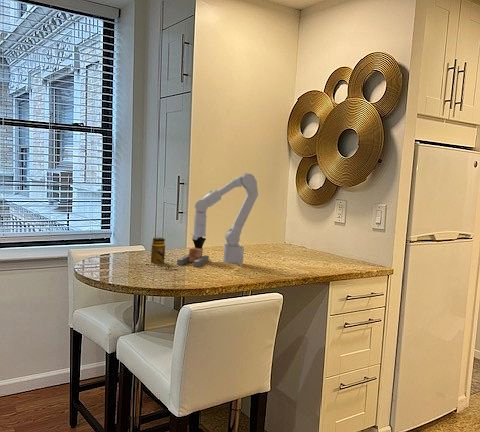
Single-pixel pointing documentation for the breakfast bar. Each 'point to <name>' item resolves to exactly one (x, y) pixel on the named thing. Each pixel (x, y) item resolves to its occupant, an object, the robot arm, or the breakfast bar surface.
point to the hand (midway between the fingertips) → (198, 253)
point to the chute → (195, 264)
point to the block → (195, 254)
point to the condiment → (158, 251)
